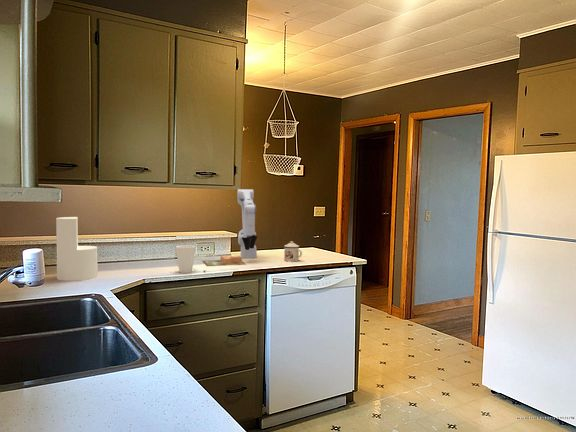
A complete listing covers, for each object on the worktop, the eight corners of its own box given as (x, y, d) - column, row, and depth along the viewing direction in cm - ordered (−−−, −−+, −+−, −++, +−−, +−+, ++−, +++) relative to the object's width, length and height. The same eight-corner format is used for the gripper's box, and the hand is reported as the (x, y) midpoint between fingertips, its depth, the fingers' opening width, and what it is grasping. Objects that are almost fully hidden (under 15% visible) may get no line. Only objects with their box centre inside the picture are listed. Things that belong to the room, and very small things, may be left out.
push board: (238, 261, 264) (238, 259, 264) (247, 266, 245) (247, 264, 245) (201, 262, 257) (201, 260, 257) (206, 268, 238) (206, 266, 238)
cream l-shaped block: (55, 281, 199) (54, 219, 197) (58, 275, 214) (57, 216, 213) (97, 279, 205) (97, 218, 204) (97, 272, 221) (96, 216, 220)
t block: (238, 260, 260) (238, 255, 260) (243, 263, 249) (243, 258, 249) (220, 261, 257) (220, 255, 256) (224, 264, 245) (224, 258, 245)
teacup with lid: (280, 260, 268) (281, 241, 268) (290, 259, 276) (290, 240, 275) (296, 262, 261) (297, 243, 260) (305, 261, 268) (306, 241, 268)
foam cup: (198, 270, 230) (198, 245, 230) (188, 274, 222) (188, 248, 221) (182, 269, 233) (182, 245, 233) (172, 272, 225) (172, 247, 224)
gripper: (248, 224, 263) (248, 247, 264) (238, 226, 249) (237, 250, 250) (259, 224, 261) (259, 247, 262) (249, 226, 247) (249, 250, 248)
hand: (249, 249), depth 256 cm, fingers open, 6 cm apart
